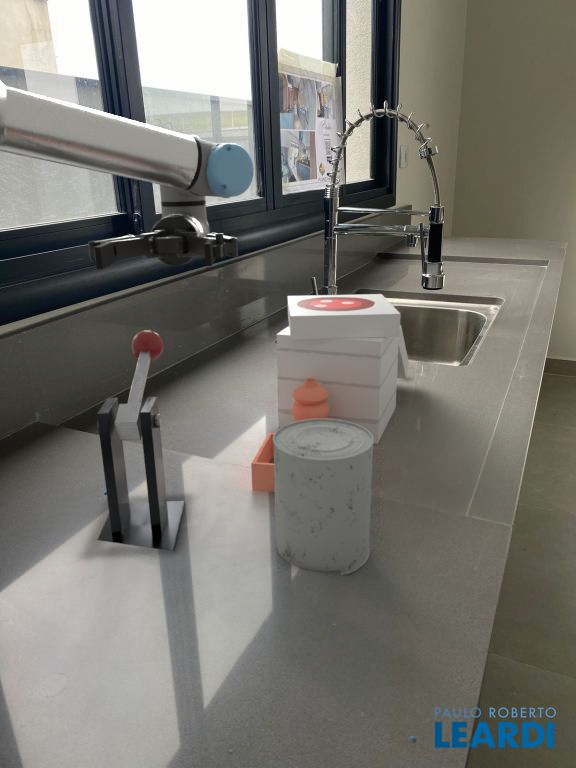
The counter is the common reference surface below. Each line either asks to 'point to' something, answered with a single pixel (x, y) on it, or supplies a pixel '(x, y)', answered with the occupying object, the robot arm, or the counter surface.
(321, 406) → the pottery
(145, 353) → the lever
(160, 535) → the bracket
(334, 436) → the grey tin can
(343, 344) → the pizza boxes
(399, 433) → the counter surface
